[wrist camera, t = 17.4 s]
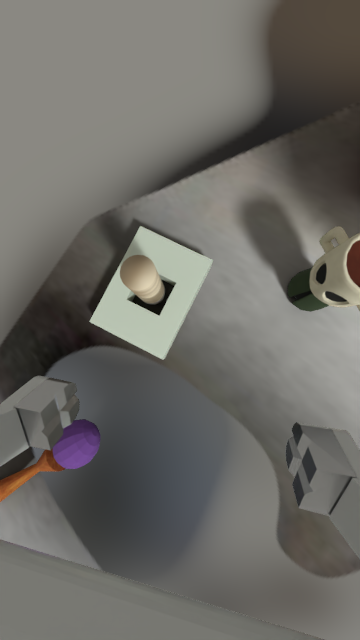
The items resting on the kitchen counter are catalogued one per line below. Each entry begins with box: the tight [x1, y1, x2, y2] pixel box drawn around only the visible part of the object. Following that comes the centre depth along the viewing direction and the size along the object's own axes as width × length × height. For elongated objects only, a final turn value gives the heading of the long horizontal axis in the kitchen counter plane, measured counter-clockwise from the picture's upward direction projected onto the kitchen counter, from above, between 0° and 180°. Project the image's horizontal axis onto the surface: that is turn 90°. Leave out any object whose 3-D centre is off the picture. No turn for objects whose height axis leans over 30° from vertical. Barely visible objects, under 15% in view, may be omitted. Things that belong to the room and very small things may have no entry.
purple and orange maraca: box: [0, 419, 100, 502], centre depth 31 cm, size 6×6×20 cm
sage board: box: [89, 226, 213, 359], centre depth 33 cm, size 12×16×3 cm
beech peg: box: [120, 255, 165, 304], centre depth 29 cm, size 4×4×12 cm
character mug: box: [288, 226, 360, 311], centre depth 28 cm, size 11×7×13 cm, turn 26°
